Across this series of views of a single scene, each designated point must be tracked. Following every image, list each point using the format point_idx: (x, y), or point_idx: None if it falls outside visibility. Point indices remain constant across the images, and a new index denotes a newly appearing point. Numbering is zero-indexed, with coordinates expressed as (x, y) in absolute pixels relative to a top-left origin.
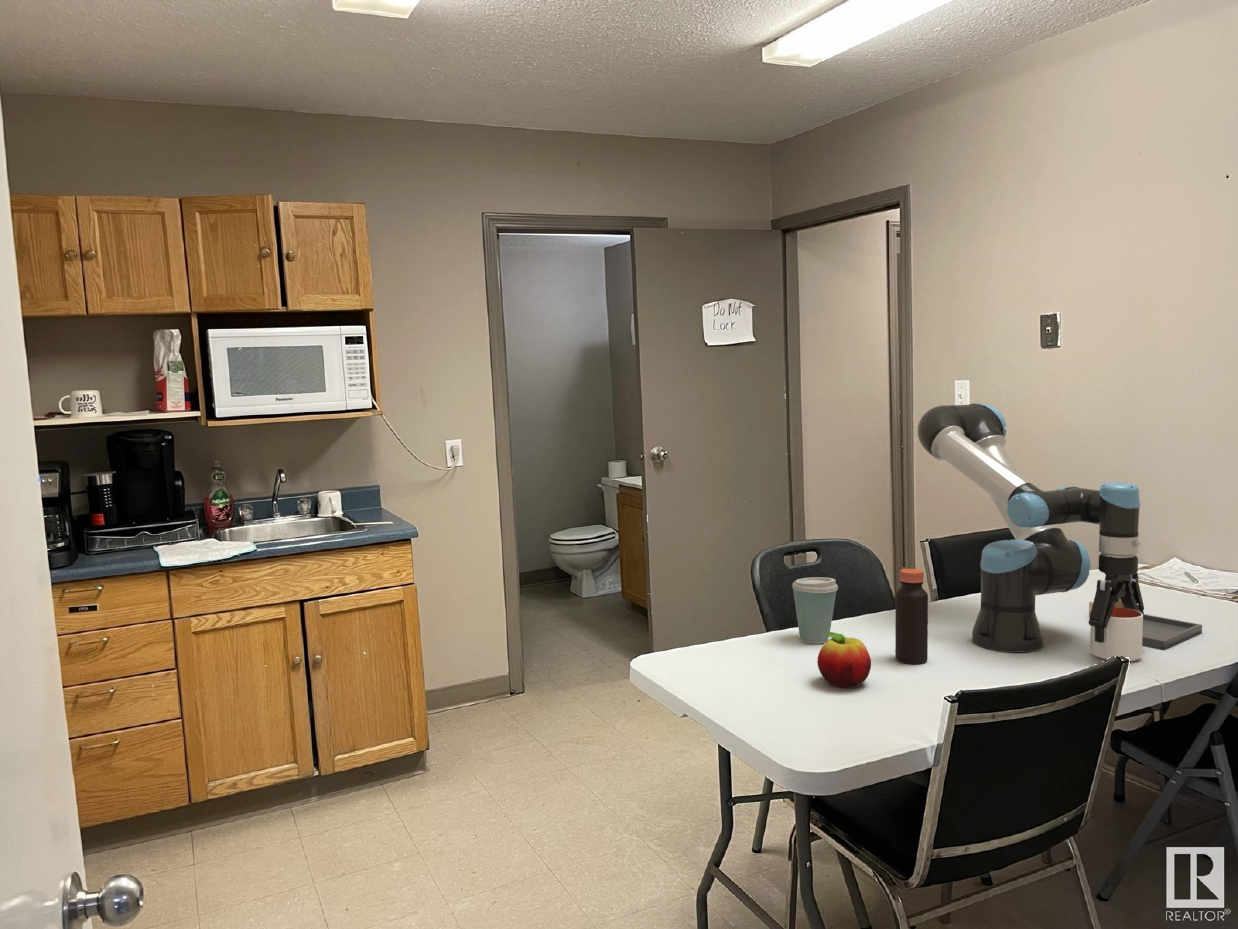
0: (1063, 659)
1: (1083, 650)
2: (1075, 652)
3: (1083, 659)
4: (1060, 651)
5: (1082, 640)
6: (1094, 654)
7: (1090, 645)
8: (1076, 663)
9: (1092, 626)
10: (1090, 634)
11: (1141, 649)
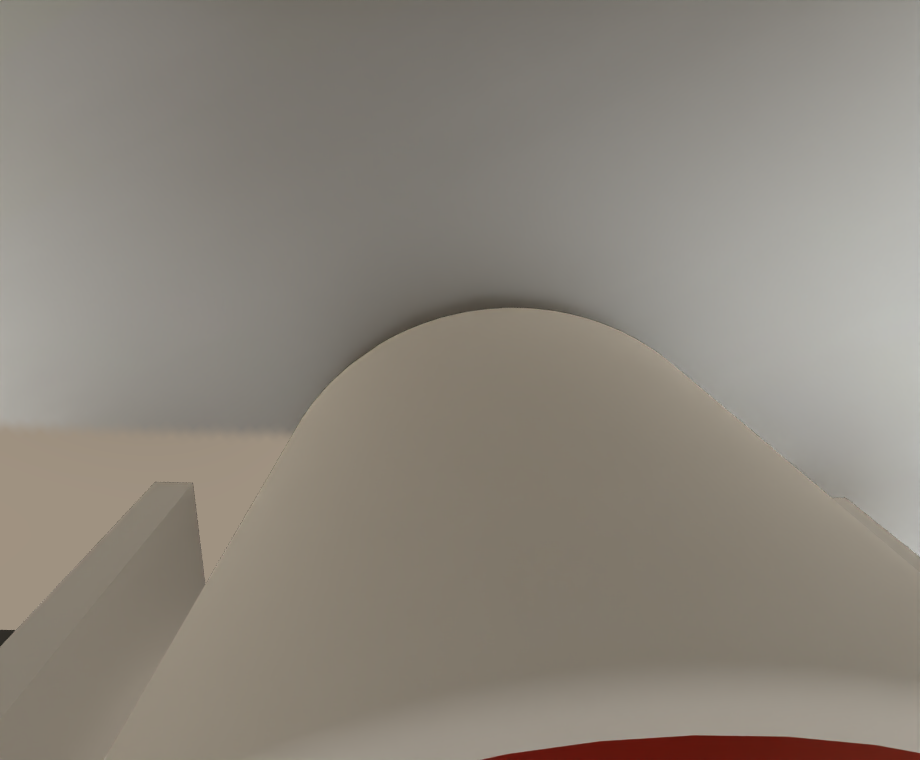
0: (9, 206)
1: (488, 210)
2: (352, 181)
3: (188, 349)
4: (254, 29)
5: (896, 8)
6: (153, 491)
7: (366, 363)
8: (11, 359)
9: (229, 559)
10: (365, 402)
11: (545, 749)
